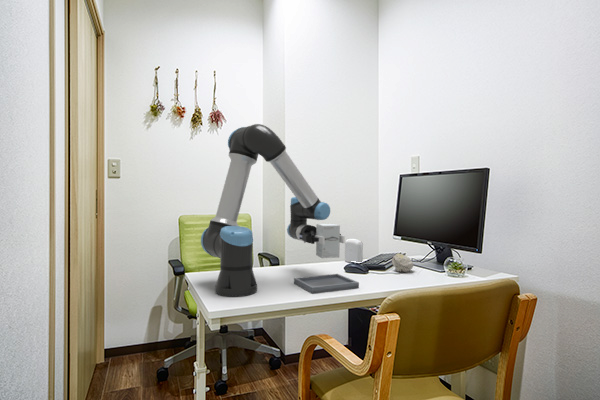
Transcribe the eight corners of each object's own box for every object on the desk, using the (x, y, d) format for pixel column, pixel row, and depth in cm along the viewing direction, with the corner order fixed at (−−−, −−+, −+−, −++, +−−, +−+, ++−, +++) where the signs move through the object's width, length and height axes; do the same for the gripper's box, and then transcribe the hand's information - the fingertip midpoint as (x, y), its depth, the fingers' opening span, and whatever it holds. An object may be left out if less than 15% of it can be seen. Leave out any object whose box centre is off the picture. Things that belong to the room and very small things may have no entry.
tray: (312, 293, 136) (312, 287, 136) (294, 283, 150) (294, 278, 150) (358, 288, 144) (358, 282, 144) (337, 278, 159) (337, 273, 159)
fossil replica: (409, 268, 182) (388, 270, 181) (407, 251, 182) (387, 253, 182) (418, 272, 170) (396, 274, 169) (416, 253, 170) (394, 255, 170)
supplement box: (321, 258, 143) (322, 225, 142) (315, 255, 150) (315, 223, 150) (340, 257, 145) (340, 225, 144) (333, 254, 152) (333, 223, 152)
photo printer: (343, 261, 198) (343, 238, 197) (349, 260, 200) (349, 237, 200) (358, 264, 190) (358, 240, 189) (363, 263, 192) (364, 239, 192)
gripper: (328, 241, 168) (357, 248, 147) (285, 243, 159) (309, 251, 139) (328, 224, 168) (357, 229, 147) (285, 225, 159) (309, 231, 138)
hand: (333, 240), depth 143 cm, fingers closed on supplement box, 8 cm apart
